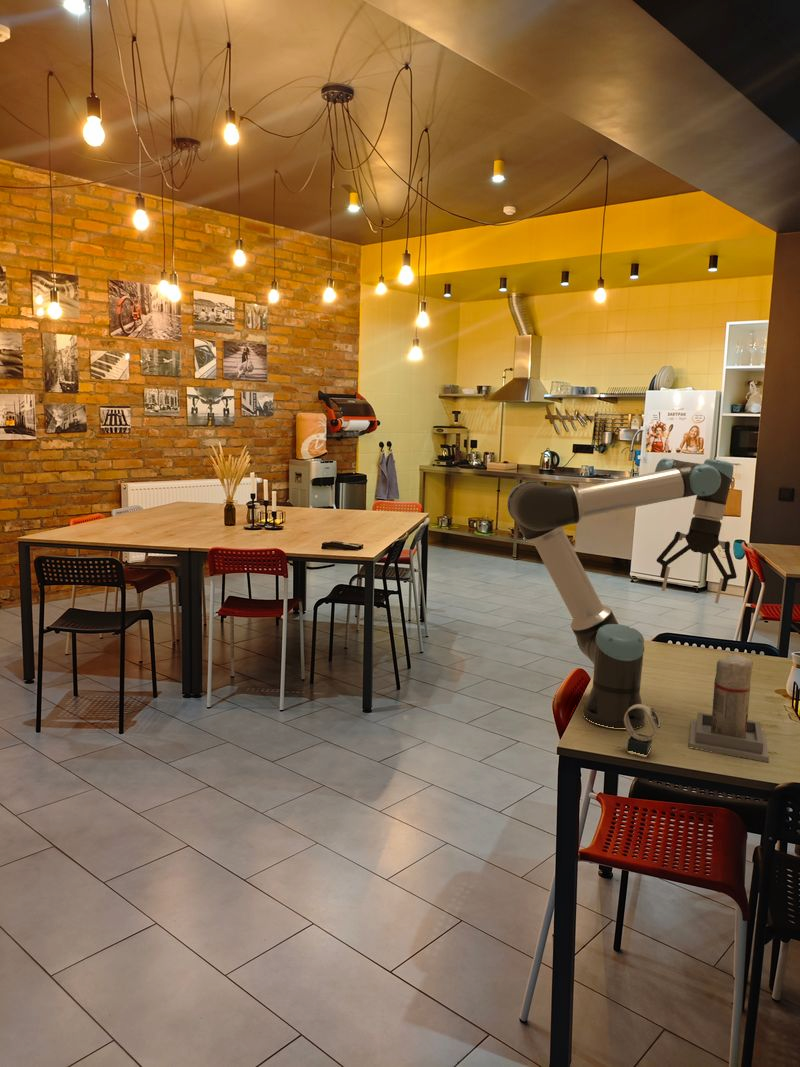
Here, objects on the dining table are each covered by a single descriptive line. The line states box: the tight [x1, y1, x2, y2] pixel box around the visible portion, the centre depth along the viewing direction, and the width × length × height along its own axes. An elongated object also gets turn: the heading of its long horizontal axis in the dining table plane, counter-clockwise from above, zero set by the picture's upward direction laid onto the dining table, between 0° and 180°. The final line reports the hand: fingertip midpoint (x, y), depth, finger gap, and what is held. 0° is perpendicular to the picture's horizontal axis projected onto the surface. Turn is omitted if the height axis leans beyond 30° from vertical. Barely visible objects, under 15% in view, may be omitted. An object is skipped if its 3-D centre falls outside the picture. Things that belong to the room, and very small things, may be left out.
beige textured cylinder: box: [711, 653, 754, 739], centre depth 187 cm, size 8×8×20 cm
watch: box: [624, 703, 661, 755], centre depth 180 cm, size 6×8×11 cm
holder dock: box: [688, 711, 770, 763], centre depth 188 cm, size 17×17×4 cm
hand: (689, 596), depth 209 cm, fingers open, 13 cm apart
